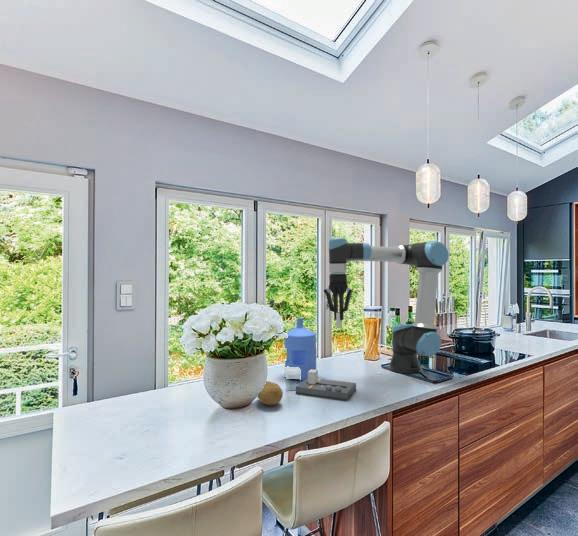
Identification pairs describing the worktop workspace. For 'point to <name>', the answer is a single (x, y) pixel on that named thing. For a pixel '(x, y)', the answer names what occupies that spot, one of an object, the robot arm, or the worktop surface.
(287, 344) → the water jug
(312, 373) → the fader
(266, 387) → the potato
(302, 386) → the console
